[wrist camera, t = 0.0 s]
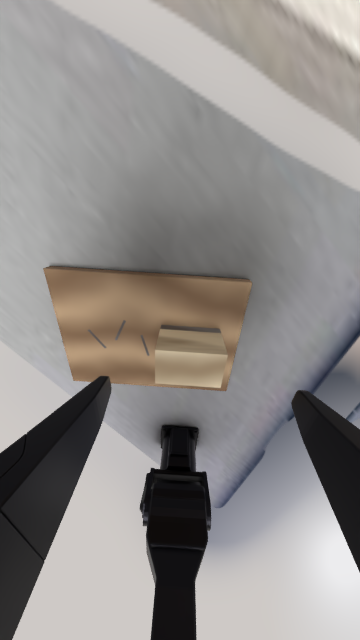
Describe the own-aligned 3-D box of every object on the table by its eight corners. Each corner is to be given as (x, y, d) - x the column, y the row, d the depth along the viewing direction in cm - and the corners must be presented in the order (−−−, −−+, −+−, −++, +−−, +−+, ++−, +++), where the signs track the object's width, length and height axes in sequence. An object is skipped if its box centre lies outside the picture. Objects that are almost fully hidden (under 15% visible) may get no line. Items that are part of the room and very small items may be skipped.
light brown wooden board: (224, 384, 29) (226, 391, 28) (77, 374, 29) (73, 380, 28) (249, 279, 21) (252, 282, 20) (50, 266, 21) (43, 268, 20)
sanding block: (214, 357, 25) (220, 387, 20) (160, 354, 25) (155, 383, 21) (219, 328, 23) (227, 355, 18) (161, 324, 23) (155, 350, 18)
